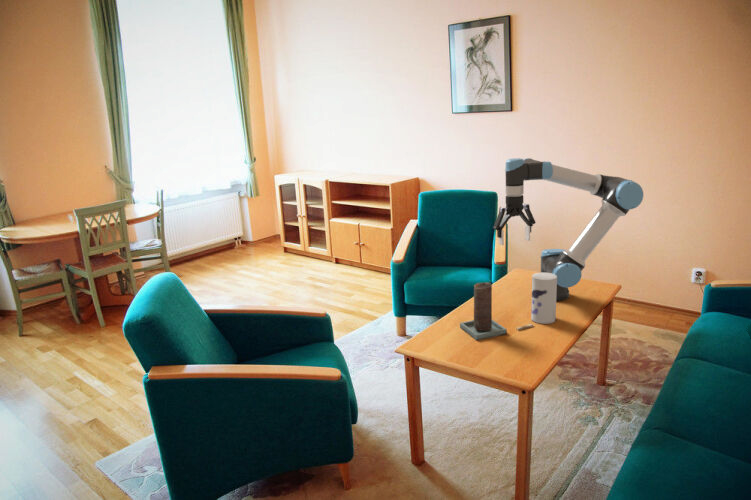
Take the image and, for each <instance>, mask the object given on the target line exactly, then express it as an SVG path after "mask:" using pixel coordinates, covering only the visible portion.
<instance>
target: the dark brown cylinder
mask: <svg viewBox="0 0 751 500" xmlns="http://www.w3.org/2000/svg"><path fill="white" fill-rule="evenodd" d="M473 287H474V288H473V320H474V328H475V329H476V330H484V331H485V330H490V329H491V328H492V320H493V317H492V315H493V314H492V313H493V309H492V301H493V296H492V294H493V293H492V292H493V291H492V290H493V285H492V283H490V282H477V283H476V284H474V285H473Z"/></svg>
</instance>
